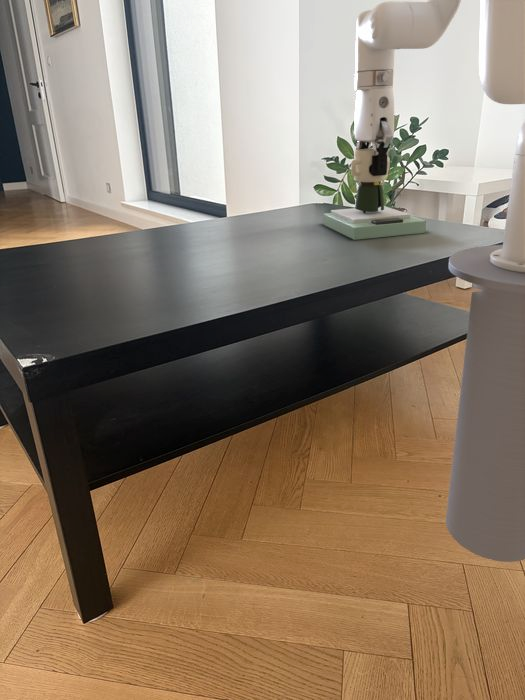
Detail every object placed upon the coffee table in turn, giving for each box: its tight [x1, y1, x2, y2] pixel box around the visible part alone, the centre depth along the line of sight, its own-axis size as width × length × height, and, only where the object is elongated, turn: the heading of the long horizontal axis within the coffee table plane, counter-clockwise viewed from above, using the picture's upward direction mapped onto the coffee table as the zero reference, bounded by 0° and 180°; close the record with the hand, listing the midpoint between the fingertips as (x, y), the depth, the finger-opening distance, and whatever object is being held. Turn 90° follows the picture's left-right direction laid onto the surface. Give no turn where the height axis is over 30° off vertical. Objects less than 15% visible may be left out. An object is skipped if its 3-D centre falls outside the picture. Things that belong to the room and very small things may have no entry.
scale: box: [322, 205, 427, 241], centre depth 120 cm, size 18×16×3 cm
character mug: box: [350, 148, 391, 213], centre depth 118 cm, size 11×7×13 cm, turn 124°
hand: (370, 173), depth 118 cm, fingers closed on character mug, 7 cm apart
